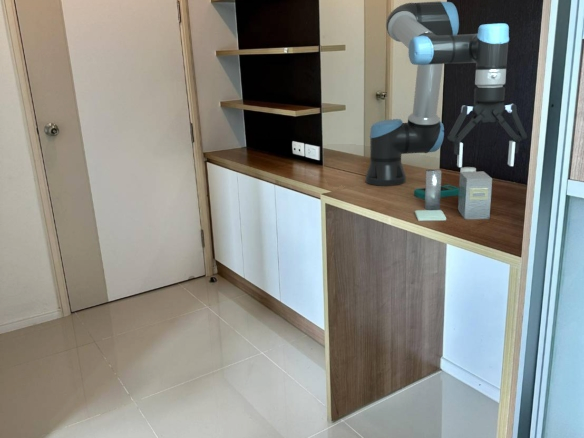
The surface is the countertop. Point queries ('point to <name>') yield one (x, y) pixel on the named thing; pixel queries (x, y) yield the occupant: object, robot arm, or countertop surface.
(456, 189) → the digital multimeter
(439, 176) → the clear drinking glass
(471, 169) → the cream canister
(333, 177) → the countertop surface
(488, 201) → the box
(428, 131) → the robot arm
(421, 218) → the pad
